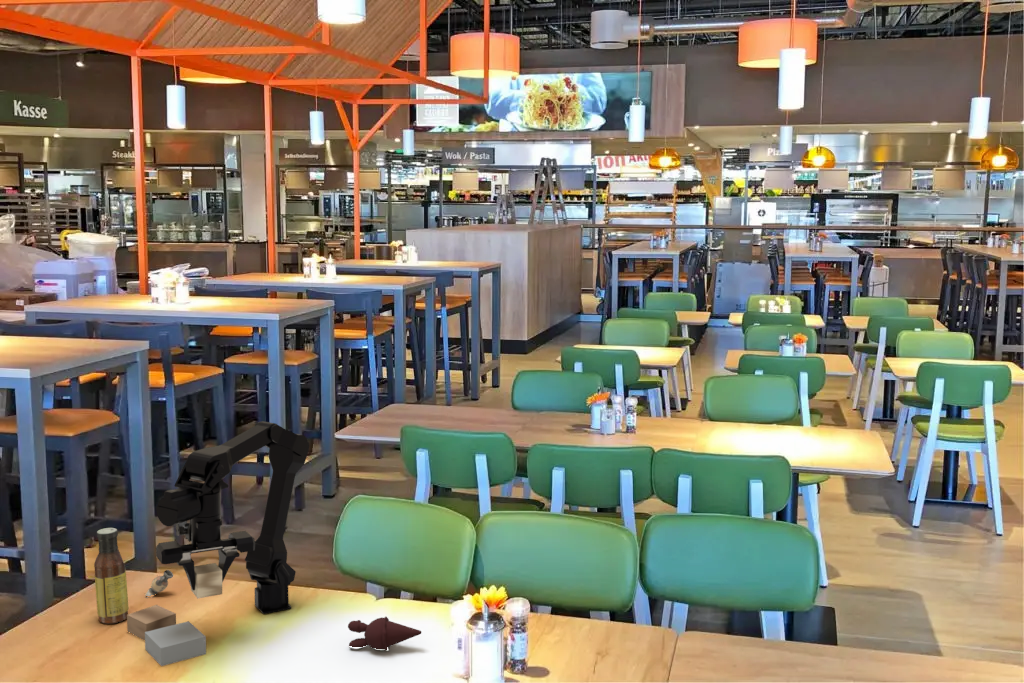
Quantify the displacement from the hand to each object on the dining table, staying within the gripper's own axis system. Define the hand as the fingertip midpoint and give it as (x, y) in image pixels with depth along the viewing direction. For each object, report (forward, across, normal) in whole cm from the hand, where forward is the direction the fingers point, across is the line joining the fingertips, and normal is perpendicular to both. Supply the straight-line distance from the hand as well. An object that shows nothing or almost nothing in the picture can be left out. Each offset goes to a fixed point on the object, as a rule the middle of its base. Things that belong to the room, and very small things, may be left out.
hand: (206, 587), depth 205 cm
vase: (+12, +2, -28) cm, 31 cm away
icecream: (+11, -30, +21) cm, 39 cm away
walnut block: (+12, +9, -10) cm, 18 cm away
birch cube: (+1, 0, 0) cm, 1 cm away
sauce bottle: (+12, +15, -20) cm, 27 cm away
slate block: (+12, +7, +2) cm, 14 cm away
